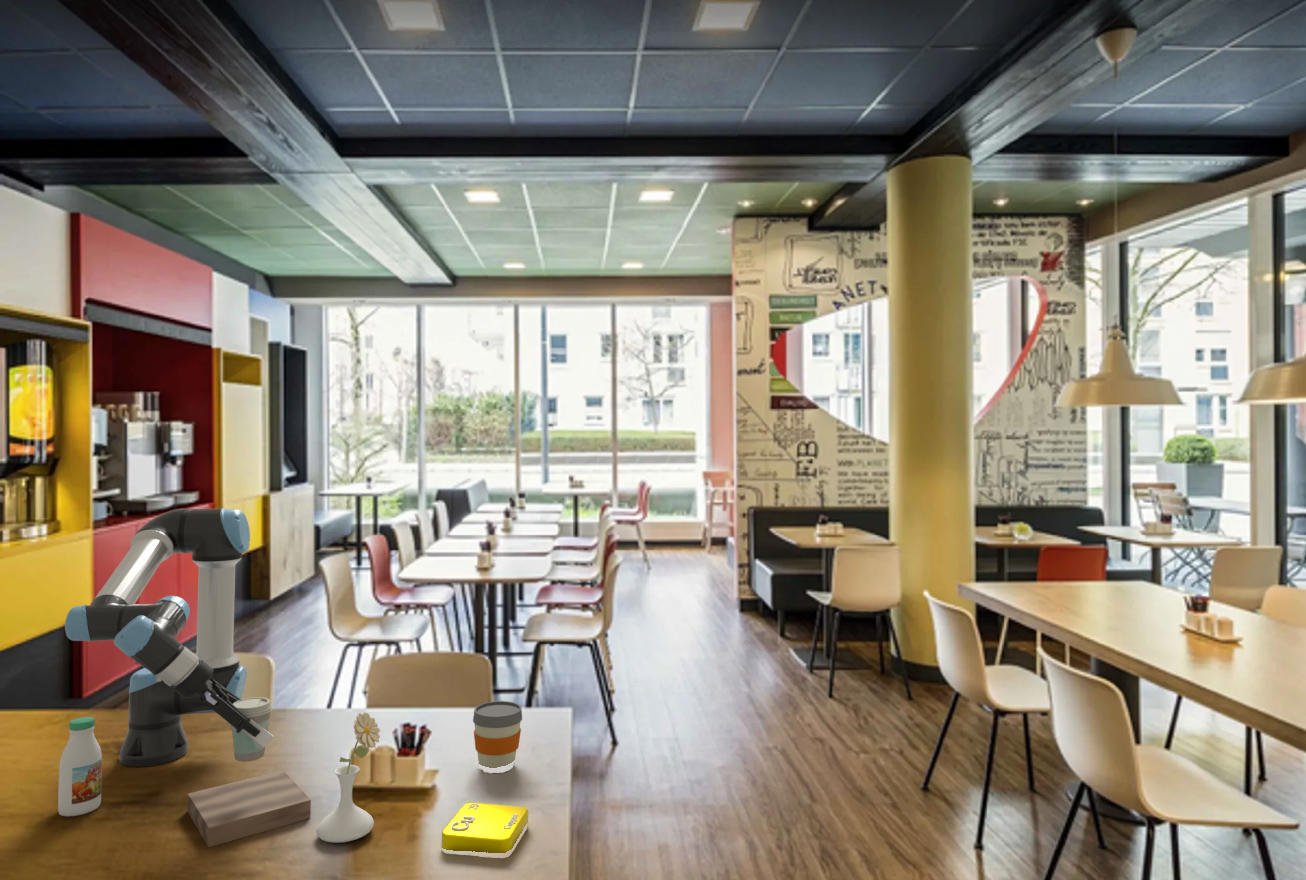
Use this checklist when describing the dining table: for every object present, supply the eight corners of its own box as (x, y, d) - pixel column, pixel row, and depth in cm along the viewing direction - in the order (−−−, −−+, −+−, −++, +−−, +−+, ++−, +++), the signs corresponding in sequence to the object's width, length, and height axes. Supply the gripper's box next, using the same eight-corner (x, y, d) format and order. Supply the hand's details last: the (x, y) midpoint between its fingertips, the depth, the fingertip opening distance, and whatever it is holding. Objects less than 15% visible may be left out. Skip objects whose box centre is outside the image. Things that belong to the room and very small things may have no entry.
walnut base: (187, 811, 173) (187, 793, 173) (282, 786, 187) (282, 770, 187) (208, 847, 158) (209, 827, 158) (310, 817, 172) (310, 799, 172)
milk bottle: (54, 820, 168) (56, 727, 168) (62, 805, 175) (64, 716, 175) (97, 813, 172) (100, 722, 172) (103, 798, 178) (105, 711, 179)
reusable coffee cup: (461, 771, 198) (463, 712, 198) (489, 753, 209) (491, 698, 209) (503, 780, 193) (505, 719, 193) (530, 761, 205) (531, 704, 205)
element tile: (508, 862, 156) (509, 838, 156) (437, 855, 158) (438, 831, 158) (530, 826, 171) (530, 804, 171) (465, 820, 173) (465, 798, 173)
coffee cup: (252, 766, 167) (254, 710, 168) (218, 761, 169) (220, 706, 169) (279, 751, 176) (281, 698, 176) (246, 747, 178) (248, 694, 178)
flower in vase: (338, 854, 157) (342, 730, 157) (304, 838, 163) (307, 719, 163) (391, 828, 168) (394, 712, 168) (357, 813, 174) (360, 702, 174)
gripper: (171, 674, 174) (249, 733, 182) (170, 701, 156) (257, 766, 164) (199, 647, 176) (274, 707, 185) (202, 671, 158) (285, 736, 167)
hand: (266, 734), depth 174 cm, fingers closed on coffee cup, 8 cm apart
